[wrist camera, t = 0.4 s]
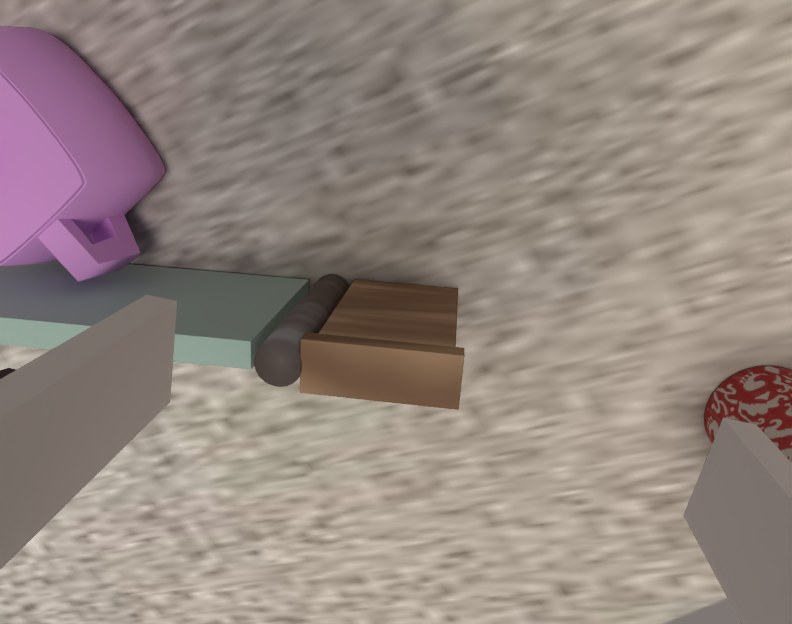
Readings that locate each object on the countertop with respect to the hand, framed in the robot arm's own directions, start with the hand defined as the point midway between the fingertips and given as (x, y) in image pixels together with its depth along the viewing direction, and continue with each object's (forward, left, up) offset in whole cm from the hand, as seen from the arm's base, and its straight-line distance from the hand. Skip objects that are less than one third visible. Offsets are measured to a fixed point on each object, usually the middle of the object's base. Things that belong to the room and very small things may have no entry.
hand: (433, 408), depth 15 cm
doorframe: (+5, -4, -27) cm, 27 cm away
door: (+6, -19, -26) cm, 33 cm away
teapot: (-3, -26, -27) cm, 38 cm away
